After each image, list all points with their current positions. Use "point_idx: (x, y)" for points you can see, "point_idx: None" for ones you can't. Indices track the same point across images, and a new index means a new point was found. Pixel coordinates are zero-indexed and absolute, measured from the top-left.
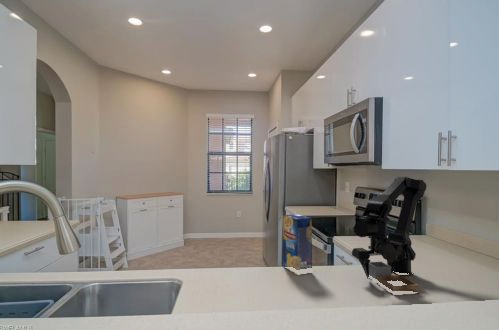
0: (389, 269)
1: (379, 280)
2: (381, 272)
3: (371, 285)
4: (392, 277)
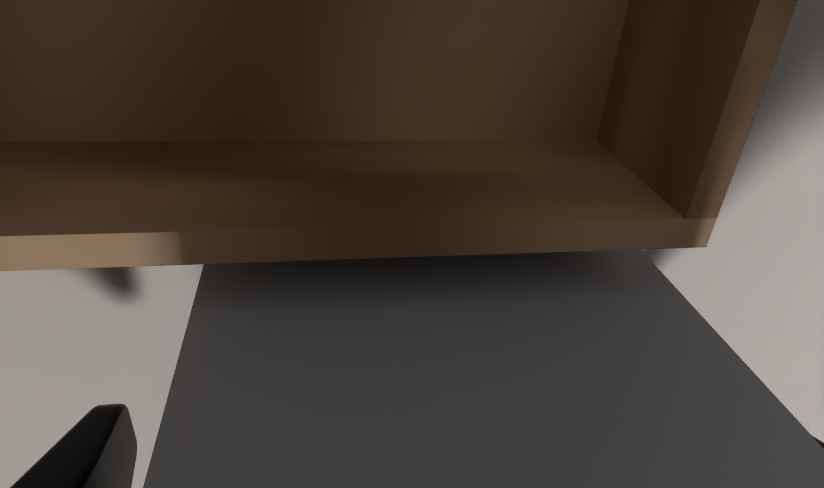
0: (233, 450)
1: (697, 107)
2: (548, 357)
3: None
4: (213, 199)
